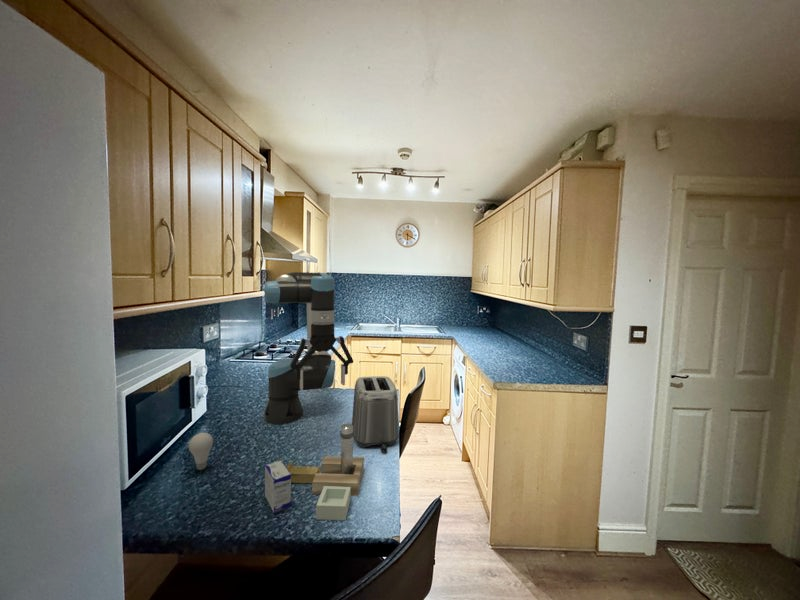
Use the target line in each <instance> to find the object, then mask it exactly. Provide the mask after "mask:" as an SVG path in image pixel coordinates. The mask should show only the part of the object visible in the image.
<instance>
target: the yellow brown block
mask: <svg viewBox="0 0 800 600" xmlns="http://www.w3.org/2000/svg"><path fill="white" fill-rule="evenodd" d="M285 466H286V468H287V469H288V471H289V472H290V473H291V484H292V483H293V484H294V483H295V484H312V482H313V480H314V478H315V475H316V473H321V466H310V465H309V466H307V465H306V466H305V465H294V462H288V464H287V465H285Z"/></svg>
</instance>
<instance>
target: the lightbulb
mask: <svg viewBox="0 0 800 600" xmlns="http://www.w3.org/2000/svg"><path fill="white" fill-rule="evenodd" d="M213 444H214V438H213V436H212V435H211V434H209V433H208V432H199V433H197V434H195V435H194V436H193V437H192V438H191V439H190V441H189V443H188V449H189V452H190V454H191V455H192V456H193V458H194V463H195V466H196V470H198V471H203V470H204V469H206V468H207V464H208V458H209V453H210V451H211V449H212V447H213Z"/></svg>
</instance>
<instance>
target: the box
mask: <svg viewBox="0 0 800 600" xmlns="http://www.w3.org/2000/svg"><path fill="white" fill-rule="evenodd" d="M286 466H287V465H286V464H285V463H284V462H283V460H278V461H274V462H272V463H268V464H266V465H264V497H265V499H266V501H267V503H268V505H269V506H270V508H271V510H272V512H273V514H276V513H279V512H282V511H283V510H285V509H288V508H289V507H291V506H292V483H291V473H290V472H289V471H288V469H287V468H286Z"/></svg>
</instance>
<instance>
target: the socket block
mask: <svg viewBox="0 0 800 600" xmlns="http://www.w3.org/2000/svg"><path fill="white" fill-rule="evenodd" d="M364 460H365V459H364V457H359V456H358V457H357V456H353V474H341V456H327V455H324V457H323V459H322V461H321V462H320V473H316V475H315V478H314V480H313V482H312V483H311V486H312V489H311V490H312V495H313V496H314V495H316V496H317V495H319V496H320V495H321V492H322V490H323V487H324V486H338V487H351V497H352V496H353V497H358V495H359V489H360V486H361V482H362V478H363V473H364V468H365V466H364V465H365V464H364V462H365V461H364Z"/></svg>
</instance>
